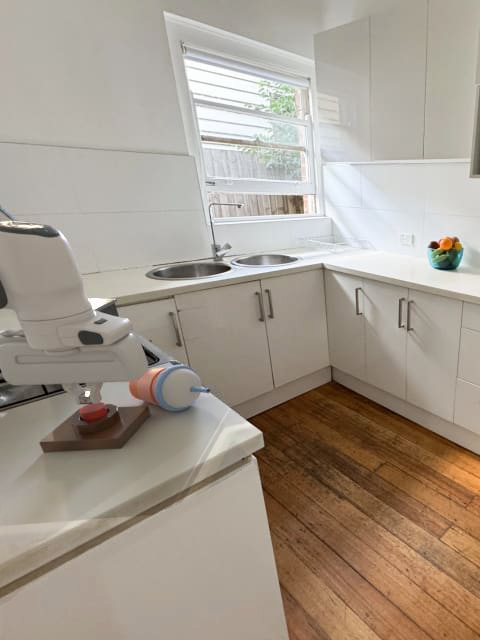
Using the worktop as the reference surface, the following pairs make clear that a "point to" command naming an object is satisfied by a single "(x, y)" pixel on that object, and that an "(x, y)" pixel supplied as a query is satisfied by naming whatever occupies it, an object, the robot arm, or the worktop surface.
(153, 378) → the cup with straw
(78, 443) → the block
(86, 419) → the button
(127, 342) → the robot arm
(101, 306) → the box lid
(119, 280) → the worktop surface
